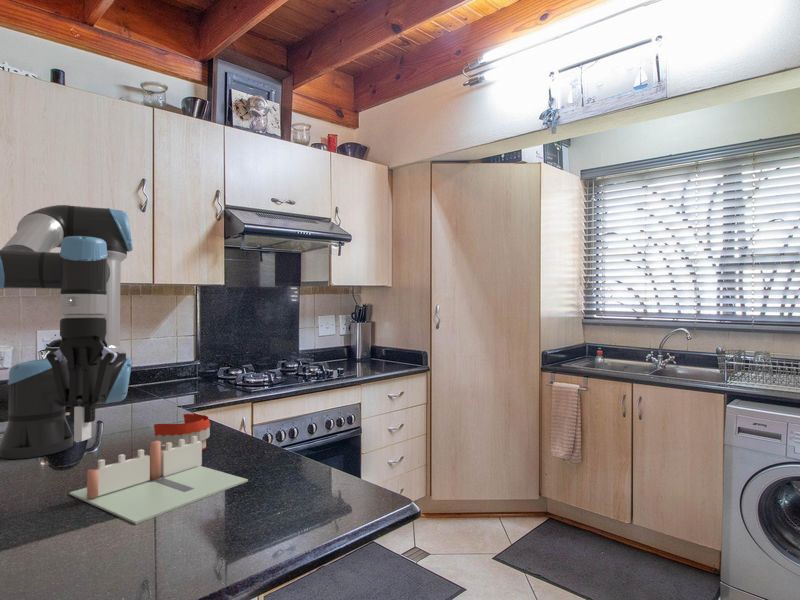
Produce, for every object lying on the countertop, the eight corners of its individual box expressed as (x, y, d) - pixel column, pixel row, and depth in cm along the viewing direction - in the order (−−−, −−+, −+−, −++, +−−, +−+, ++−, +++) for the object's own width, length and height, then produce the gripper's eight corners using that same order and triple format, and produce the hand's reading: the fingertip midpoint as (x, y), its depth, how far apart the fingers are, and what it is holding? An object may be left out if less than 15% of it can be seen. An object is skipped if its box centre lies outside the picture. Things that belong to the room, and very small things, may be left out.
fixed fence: (147, 481, 98) (148, 442, 98) (197, 465, 108) (197, 430, 108) (153, 483, 97) (153, 444, 97) (202, 467, 107) (202, 431, 107)
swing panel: (145, 478, 98) (145, 447, 98) (150, 480, 97) (150, 449, 97) (85, 497, 88) (85, 462, 88) (89, 499, 87) (90, 464, 87)
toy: (190, 460, 112) (190, 426, 112) (152, 458, 114) (152, 425, 114) (220, 445, 124) (220, 415, 124) (185, 443, 126) (185, 413, 126)
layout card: (69, 494, 91) (69, 491, 91) (180, 461, 111) (180, 459, 111) (135, 524, 78) (135, 521, 78) (247, 481, 98) (248, 479, 98)
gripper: (35, 317, 88) (33, 445, 87) (104, 316, 87) (103, 444, 87) (64, 317, 95) (63, 434, 94) (128, 316, 95) (127, 434, 94)
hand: (82, 439), depth 91 cm, fingers closed
